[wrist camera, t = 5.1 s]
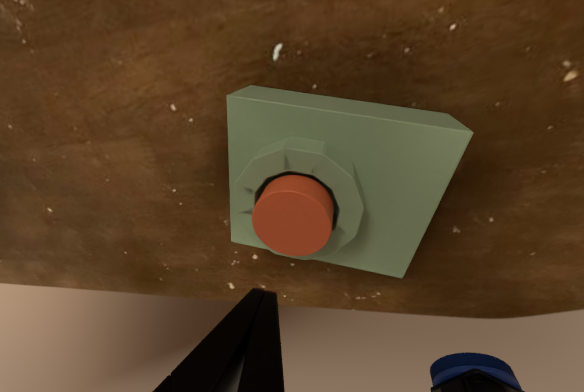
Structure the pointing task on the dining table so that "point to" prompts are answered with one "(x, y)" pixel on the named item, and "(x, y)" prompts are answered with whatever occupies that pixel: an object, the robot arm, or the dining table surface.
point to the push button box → (344, 169)
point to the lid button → (294, 215)
